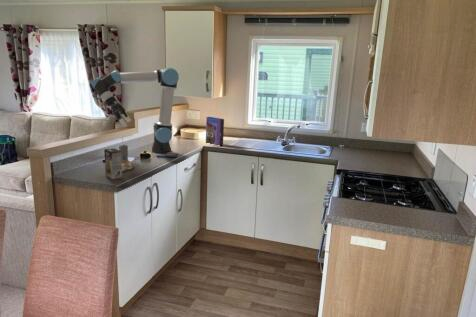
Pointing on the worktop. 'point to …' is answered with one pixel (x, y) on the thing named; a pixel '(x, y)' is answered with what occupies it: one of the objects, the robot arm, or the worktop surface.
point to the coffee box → (113, 163)
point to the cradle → (126, 165)
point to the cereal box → (214, 130)
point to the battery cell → (124, 152)
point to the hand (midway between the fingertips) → (127, 124)
